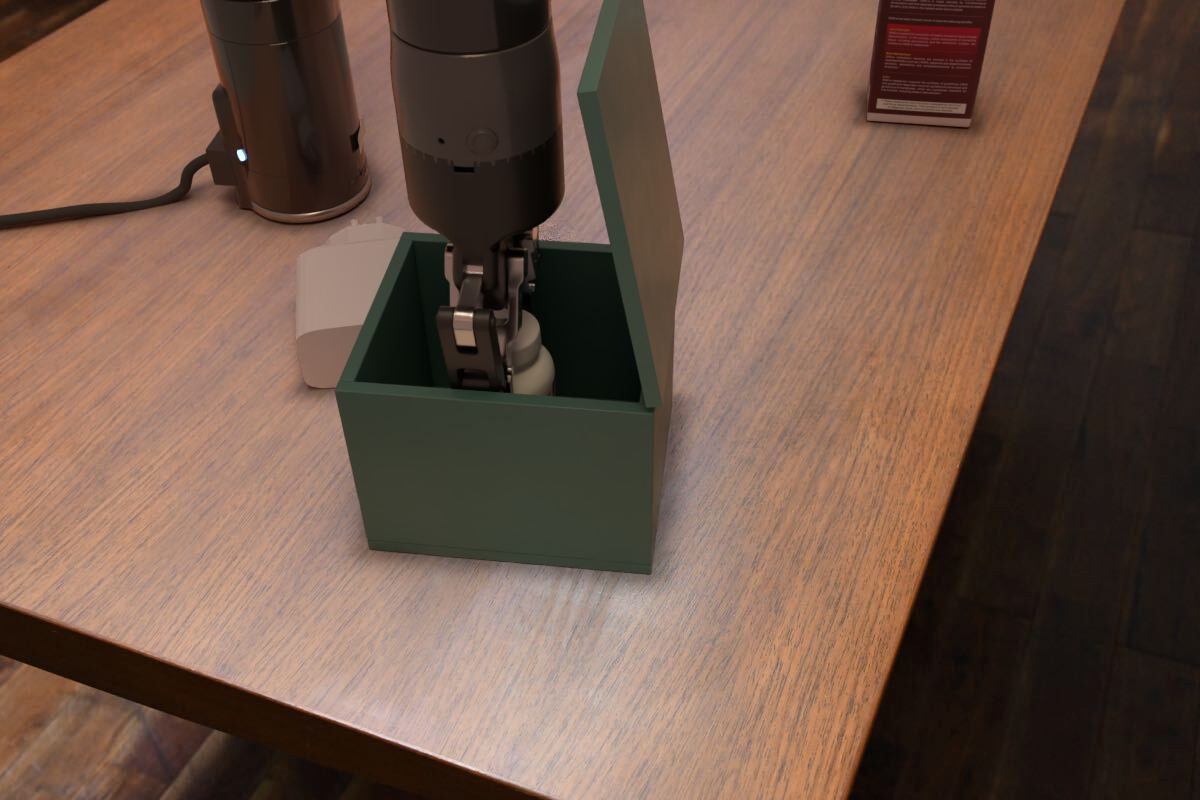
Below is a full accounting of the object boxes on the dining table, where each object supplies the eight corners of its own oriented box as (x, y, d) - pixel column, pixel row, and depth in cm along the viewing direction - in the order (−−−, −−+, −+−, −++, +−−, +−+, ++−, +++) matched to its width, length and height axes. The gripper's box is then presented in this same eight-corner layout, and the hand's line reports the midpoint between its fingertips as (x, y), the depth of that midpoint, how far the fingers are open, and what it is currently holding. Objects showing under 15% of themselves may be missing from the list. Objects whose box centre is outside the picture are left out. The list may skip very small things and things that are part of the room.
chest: (368, 549, 67) (333, 390, 59) (426, 386, 77) (402, 230, 69) (651, 575, 65) (654, 414, 57) (672, 404, 75) (677, 247, 67)
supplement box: (967, 101, 102) (1007, -89, 92) (970, 130, 99) (1011, -65, 88) (863, 93, 103) (890, -95, 93) (862, 122, 100) (890, -71, 89)
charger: (434, 240, 88) (452, 373, 77) (306, 255, 87) (306, 391, 76) (427, 184, 85) (445, 314, 74) (294, 199, 84) (292, 333, 73)
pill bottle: (547, 497, 68) (539, 367, 61) (456, 485, 69) (438, 355, 62) (568, 432, 72) (562, 303, 65) (481, 420, 73) (467, 292, 66)
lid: (575, 92, 46) (596, 90, 46) (617, -50, 56) (634, -52, 56) (646, 408, 57) (662, 407, 57) (670, 241, 67) (684, 240, 67)
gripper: (434, 37, 61) (465, 303, 72) (356, 193, 50) (406, 476, 62) (582, 43, 60) (589, 312, 71) (534, 204, 50) (552, 488, 61)
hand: (504, 387), depth 67 cm, fingers closed on pill bottle, 5 cm apart
